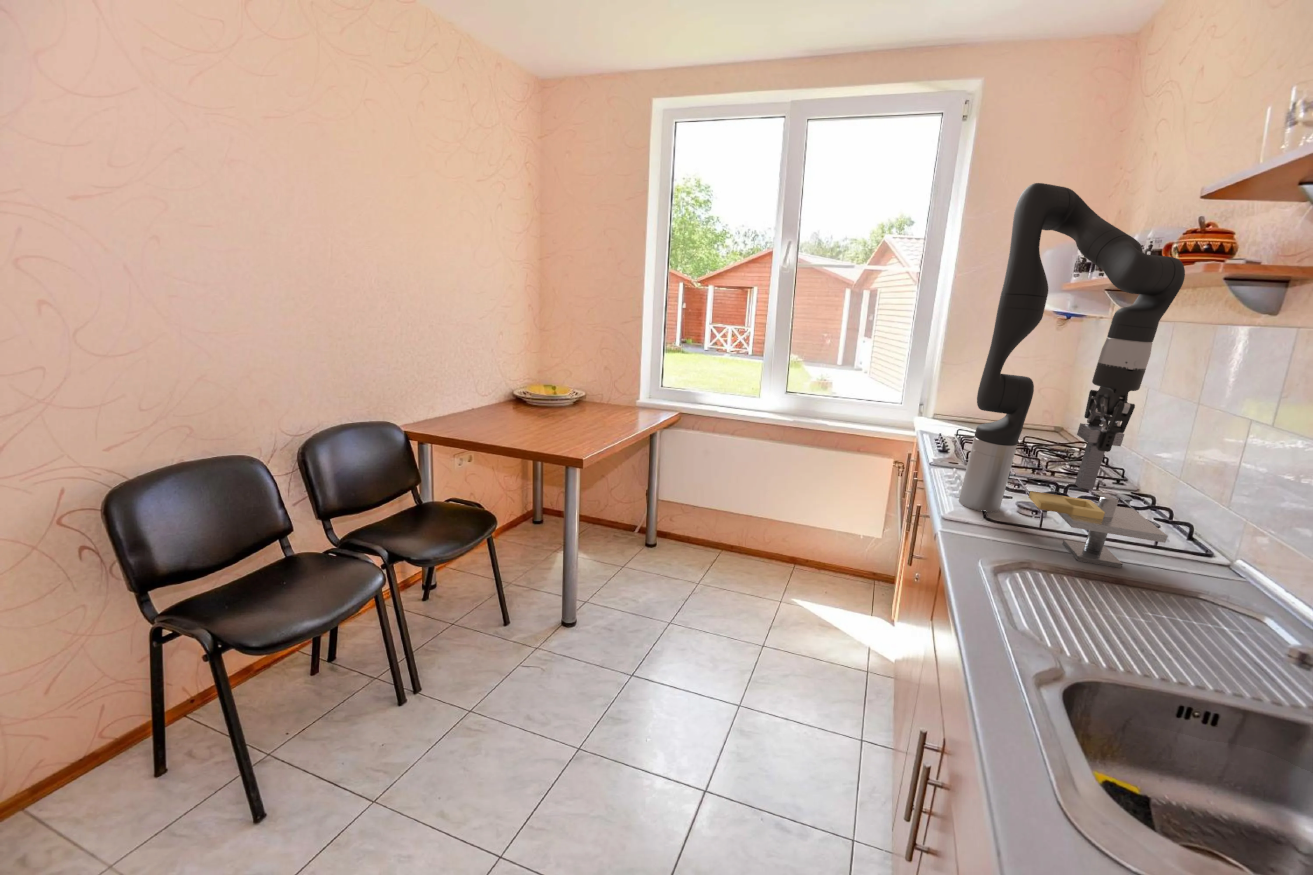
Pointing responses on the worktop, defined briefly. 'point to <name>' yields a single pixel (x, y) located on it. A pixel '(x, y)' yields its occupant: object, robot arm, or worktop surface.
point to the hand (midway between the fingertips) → (1096, 446)
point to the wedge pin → (1092, 454)
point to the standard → (1108, 531)
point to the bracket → (1066, 505)
